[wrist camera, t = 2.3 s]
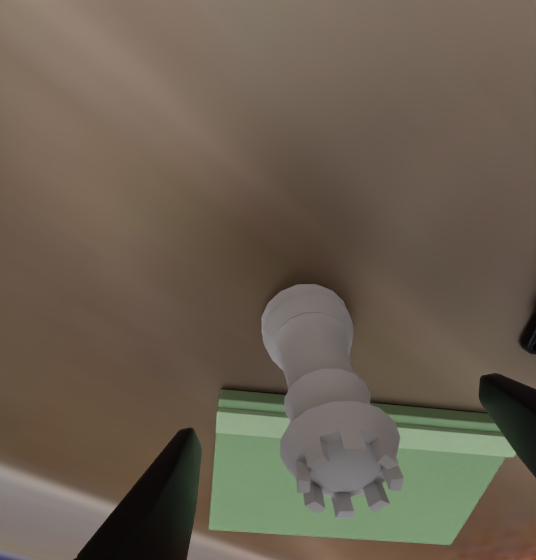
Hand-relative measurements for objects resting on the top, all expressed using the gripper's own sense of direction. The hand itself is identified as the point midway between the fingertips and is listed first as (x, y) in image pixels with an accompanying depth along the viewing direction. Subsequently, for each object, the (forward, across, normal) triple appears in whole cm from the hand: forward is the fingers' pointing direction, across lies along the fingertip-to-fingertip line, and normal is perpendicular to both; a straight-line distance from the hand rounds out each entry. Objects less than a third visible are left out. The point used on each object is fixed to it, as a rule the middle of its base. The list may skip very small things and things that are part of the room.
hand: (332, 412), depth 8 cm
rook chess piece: (+6, 0, 0) cm, 6 cm away
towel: (+6, -1, +12) cm, 13 cm away
